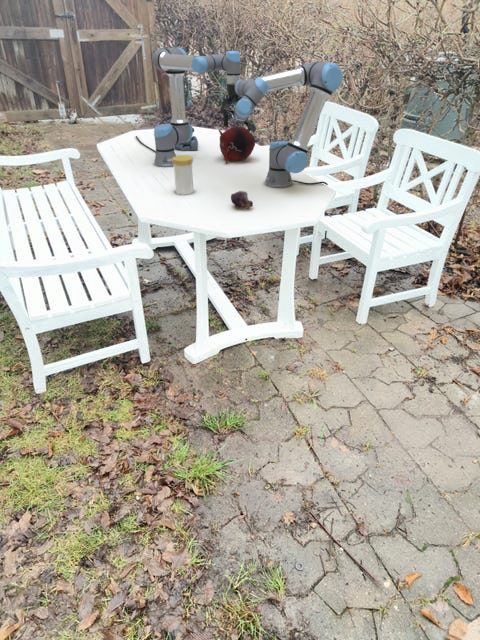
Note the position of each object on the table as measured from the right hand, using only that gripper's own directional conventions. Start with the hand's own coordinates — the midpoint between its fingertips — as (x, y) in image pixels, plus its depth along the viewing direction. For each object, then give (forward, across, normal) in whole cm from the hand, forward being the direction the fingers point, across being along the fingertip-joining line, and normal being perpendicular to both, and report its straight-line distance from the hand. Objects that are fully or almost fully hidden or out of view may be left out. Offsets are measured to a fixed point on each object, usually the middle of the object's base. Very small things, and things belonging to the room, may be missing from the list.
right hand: (238, 120), depth 244 cm
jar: (-3, -2, -48) cm, 48 cm away
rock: (-29, +26, -37) cm, 54 cm away
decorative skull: (+56, +11, -11) cm, 58 cm away
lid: (-9, -12, -35) cm, 38 cm away
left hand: (+16, -2, -1) cm, 16 cm away
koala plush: (+87, -23, -24) cm, 93 cm away
